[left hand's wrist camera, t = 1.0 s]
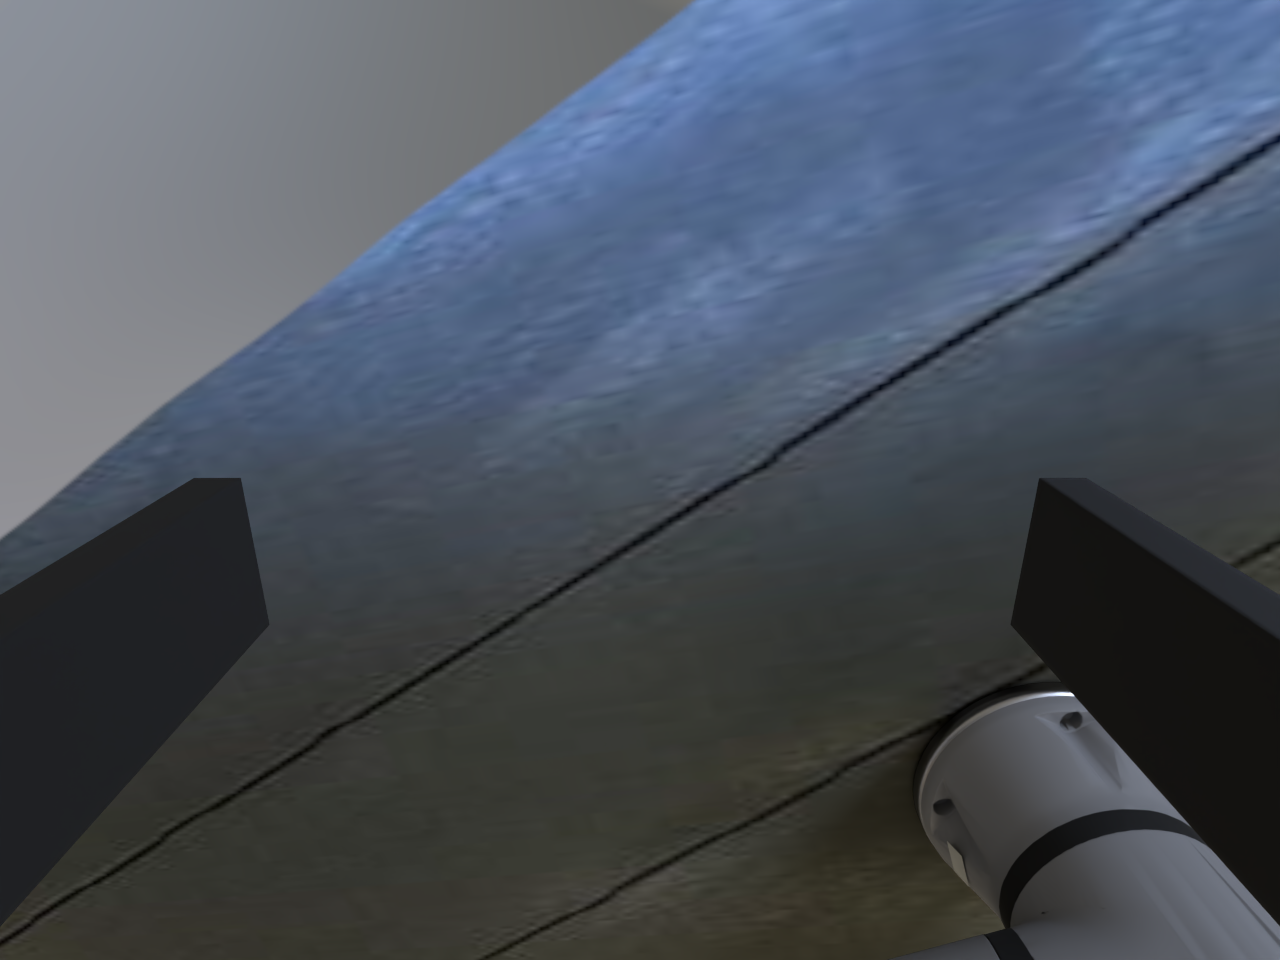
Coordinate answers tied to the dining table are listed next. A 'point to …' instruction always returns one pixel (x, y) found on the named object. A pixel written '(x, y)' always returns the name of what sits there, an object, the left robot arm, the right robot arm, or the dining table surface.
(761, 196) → the dining table surface
